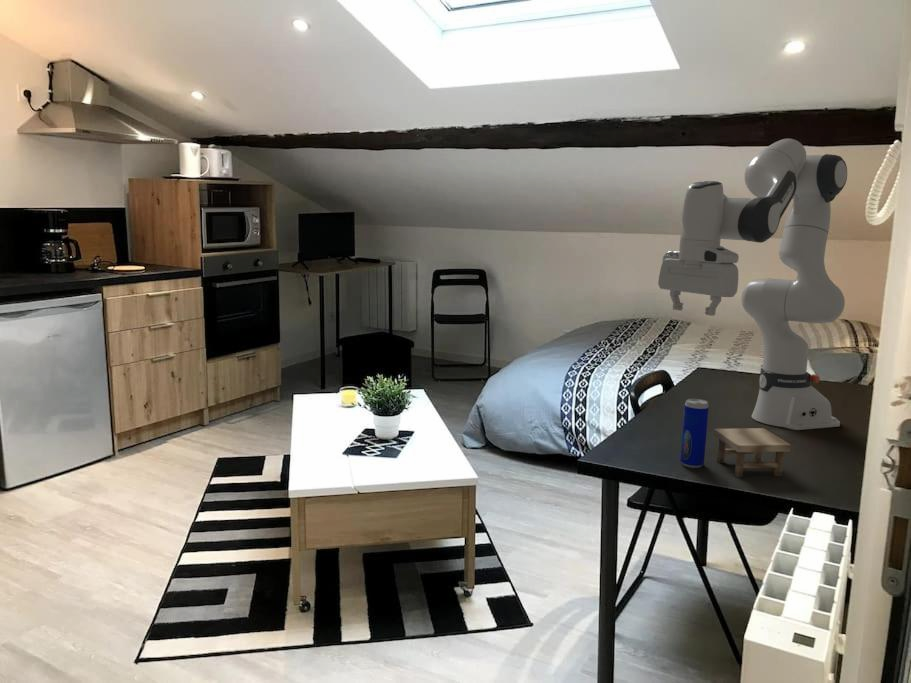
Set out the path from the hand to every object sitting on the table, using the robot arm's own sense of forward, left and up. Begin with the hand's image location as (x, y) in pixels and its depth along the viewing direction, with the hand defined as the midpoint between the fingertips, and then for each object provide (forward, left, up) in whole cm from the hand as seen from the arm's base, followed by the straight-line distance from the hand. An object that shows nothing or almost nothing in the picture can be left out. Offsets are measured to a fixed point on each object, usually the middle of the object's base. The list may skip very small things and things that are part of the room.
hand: (693, 312), depth 172 cm
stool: (-11, +12, -34) cm, 37 cm away
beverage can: (+1, +9, -34) cm, 35 cm away
